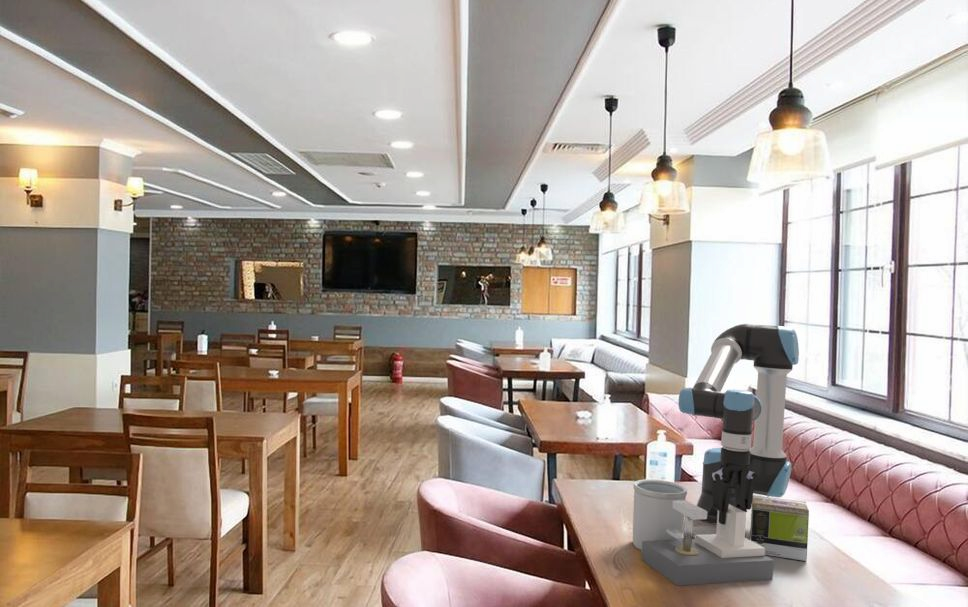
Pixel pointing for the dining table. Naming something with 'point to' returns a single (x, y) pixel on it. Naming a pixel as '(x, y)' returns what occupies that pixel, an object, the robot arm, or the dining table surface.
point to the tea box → (780, 527)
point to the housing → (702, 564)
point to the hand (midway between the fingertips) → (730, 535)
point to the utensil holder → (656, 510)
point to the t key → (687, 521)
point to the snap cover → (731, 538)
